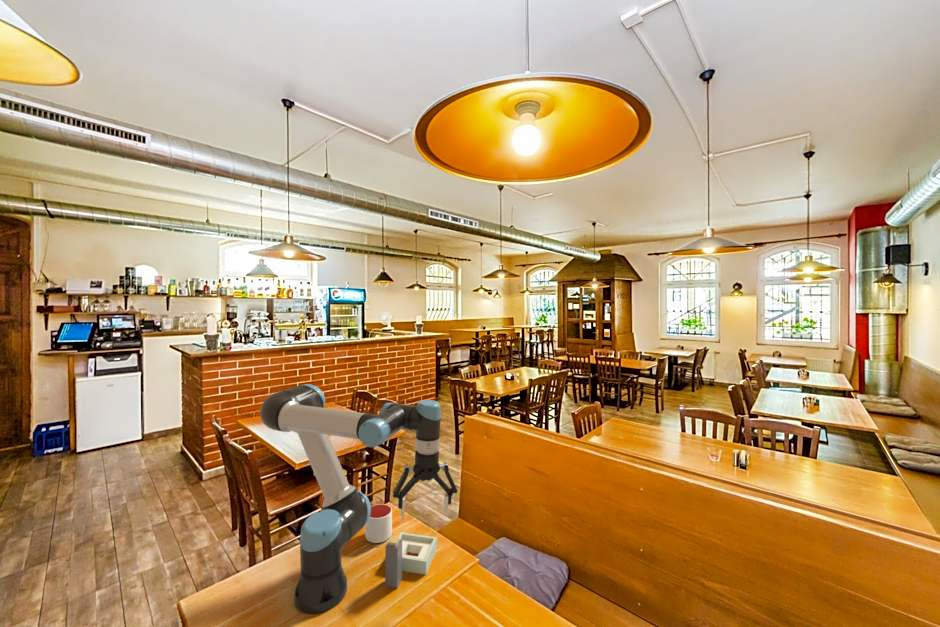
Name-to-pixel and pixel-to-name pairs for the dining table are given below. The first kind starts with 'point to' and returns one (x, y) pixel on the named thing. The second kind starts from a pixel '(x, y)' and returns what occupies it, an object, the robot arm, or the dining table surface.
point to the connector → (393, 563)
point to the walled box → (421, 546)
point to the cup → (379, 523)
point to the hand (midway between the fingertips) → (424, 515)
